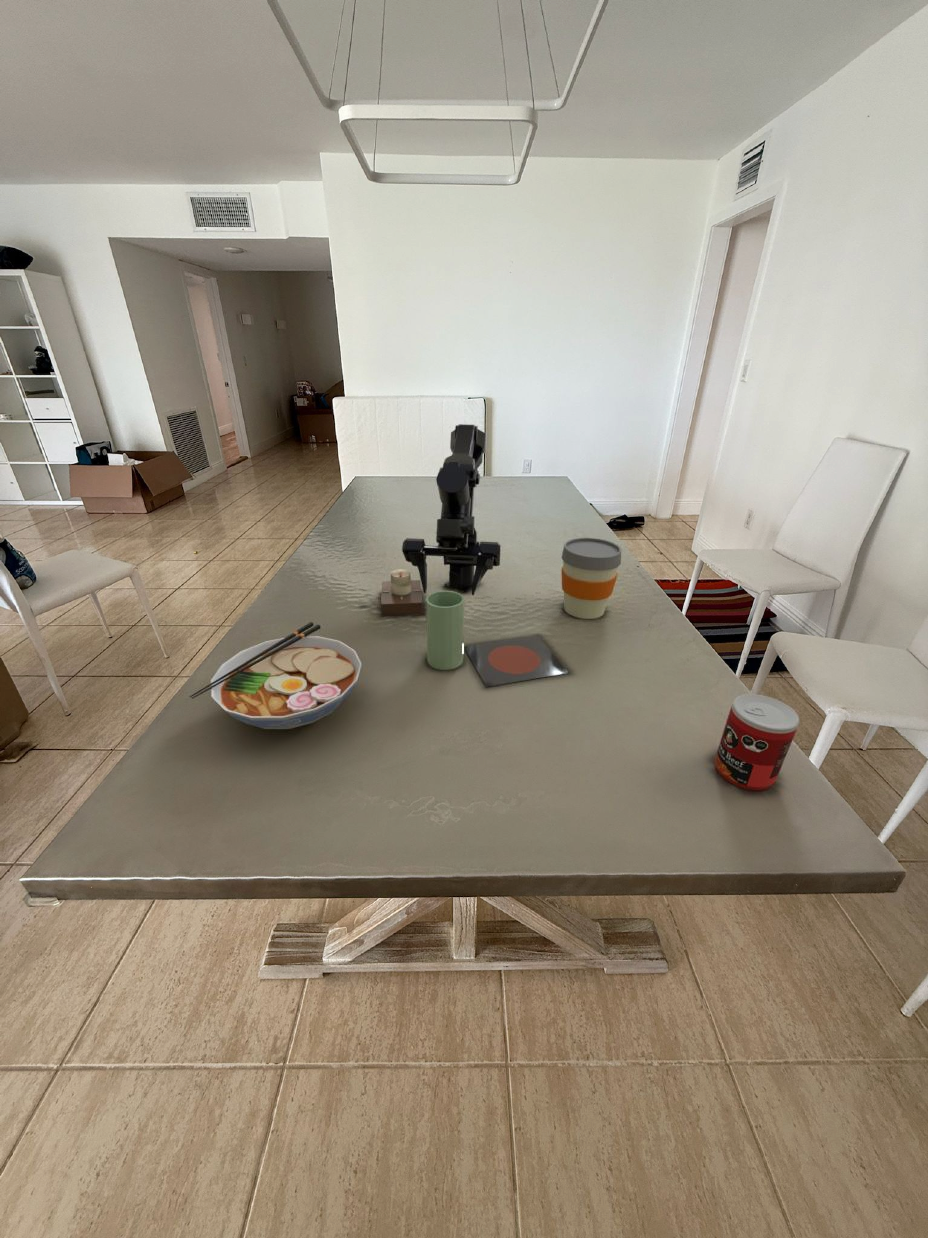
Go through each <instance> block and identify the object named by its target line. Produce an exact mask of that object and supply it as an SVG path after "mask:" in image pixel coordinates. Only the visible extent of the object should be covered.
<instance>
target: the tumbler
mask: <svg viewBox="0 0 928 1238" xmlns="http://www.w3.org/2000/svg"><path fill="white" fill-rule="evenodd" d="M425 621H426V622H425V625H426V628H425V629H426V660H427V663H428V665H429V666H430V667H431V668H432V669H433V668H434V669H436V670H439V671H450V670H454V669H456V668H459V667H460V666H461V665H463V662H464V655H465V654H464V651H465V649H464V646H465V597H464V596H463V595H462V594H461V593H459V592H456V591H453V590H438V591H434V592H431V593H430V594H428V595H427V596H426V597H425Z"/></svg>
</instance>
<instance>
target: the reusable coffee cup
mask: <svg viewBox="0 0 928 1238" xmlns="http://www.w3.org/2000/svg"><path fill="white" fill-rule="evenodd" d="M561 560H562V567H561V571H560V572H561V573H560V574H561V589H562V591H563V609H564V611H565V612H566V613H567V614H568V615H570V616H572V617H575V618H578V619H584V620H591V619H592V620H593V619H598V618H600V617H602V616H603V615H604V614H605V611H606V608H607V604H608V601H609V598H610V597H611V596H612V594H613V592H614V588H615V585H616V582H617V579H618V569H619V566H621V564H622V548H621V546H620V545H618V544H617V543H614V542H613V541H610V540H607V539H602V538H596V537H577V538H571V539H569V540H567V541H566V542H565V543H564V544H563V549H562V554H561Z"/></svg>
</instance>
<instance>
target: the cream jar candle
mask: <svg viewBox="0 0 928 1238" xmlns="http://www.w3.org/2000/svg"><path fill="white" fill-rule="evenodd" d="M411 579H412V578H411V571H410V570H408V569H395V570H392V571H391V572H390V581H391V589H392V593H393V594H395V595H407V594H409V593H410V592H411V581H412V580H411Z"/></svg>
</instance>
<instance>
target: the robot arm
mask: <svg viewBox="0 0 928 1238" xmlns="http://www.w3.org/2000/svg"><path fill="white" fill-rule="evenodd" d="M449 443H450V444H449V445H450V446H449V449H450V451H451V453H452V454H451V455H449V456H447V457H445V458H444V461H443V464H442V467H439V470H438V472H437V475H436V481H435V482H436V486H437V489H438V495H439V499H440V502H441V511H440V518H437V519H436V538H435V540H436V541H435V542H436V544H437V545H426V541H425V539H424V538H410V537H409V538H408V537H407V538H405V539H404V541H402V547H401V552H402V554H403V556H404V559H405V562H408V563H411V565H412V566H413V567H417V570H418V573H419V578H420V579H419V580H420V584H421V589H422V593H423V594H426V593H427V588H428V564H427V557H428V556H429V557H442V558H443V565H444V566H449V571H448V581H447V582H446V583H444V584H443V585H444V587H445V588H448V589H450V590H451V589H452V590H455V591H458V592H462V593H468V592H470V591H471V596H475V594H476V592H477V590H478V588H479V586H480V584H481V582H482V580H483V578H484V576H485V575H486V573H487V572H488V570H493V569H494V567H499V566H501V546H502V545H501V544H500V543H499V542H498V541H478V532H477V530H476V528H475V516H473V513H474V512H473V511H474V497H475V488H477V487H478V485H480V482H481V474H480V473H479V470H478V469H479V467H480V466H481V465H482V464H483V457H484V454H486V451H487V434H486V433H485V432H484V431H483V430H480V429H479V427H478V425H475V424H466V423H465V424H463V423H461V424H460V423H459V424H458V425H457V424H455V427H454V429H453V430H452V431H451V432H450V442H449Z"/></svg>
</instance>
